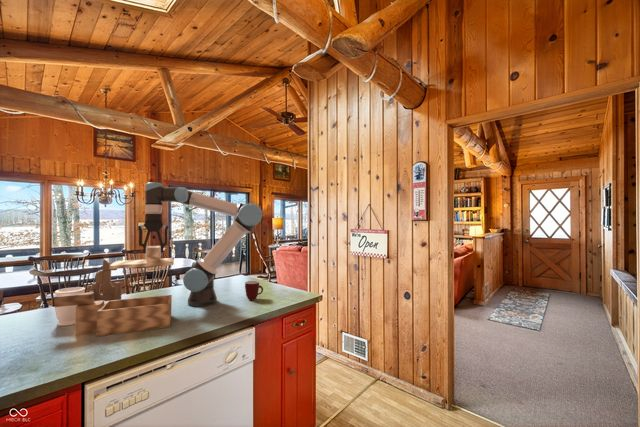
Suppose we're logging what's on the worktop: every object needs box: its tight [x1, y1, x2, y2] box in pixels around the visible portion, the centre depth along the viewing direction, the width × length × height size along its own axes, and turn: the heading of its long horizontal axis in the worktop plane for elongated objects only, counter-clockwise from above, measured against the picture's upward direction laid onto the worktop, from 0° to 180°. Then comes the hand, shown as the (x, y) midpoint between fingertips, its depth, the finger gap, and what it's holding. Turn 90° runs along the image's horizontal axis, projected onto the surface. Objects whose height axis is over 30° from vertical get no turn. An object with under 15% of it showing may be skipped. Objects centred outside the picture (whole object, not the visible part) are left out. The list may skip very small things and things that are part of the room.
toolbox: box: [74, 294, 173, 337], centre depth 128 cm, size 34×16×12 cm, turn 115°
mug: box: [244, 280, 264, 301], centre depth 172 cm, size 10×8×10 cm
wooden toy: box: [89, 258, 123, 302], centre depth 155 cm, size 16×7×25 cm, turn 121°
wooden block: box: [53, 291, 95, 308], centre depth 120 cm, size 12×4×4 cm, turn 115°
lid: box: [109, 245, 175, 270], centre depth 145 cm, size 26×16×8 cm, turn 117°
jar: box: [54, 286, 86, 327], centre depth 131 cm, size 11×10×15 cm
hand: (153, 259), depth 147 cm, fingers closed on lid, 5 cm apart
